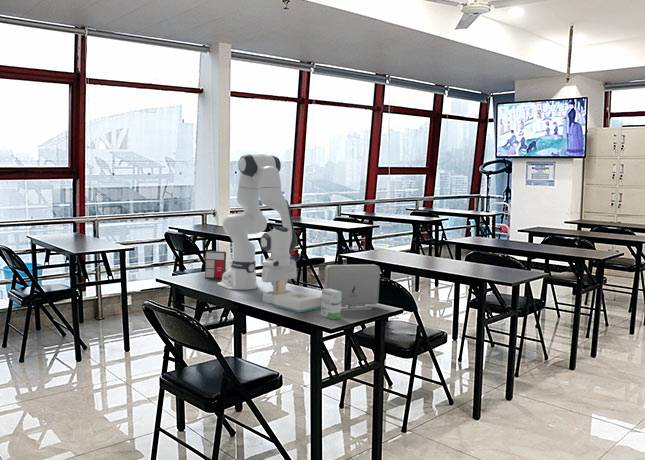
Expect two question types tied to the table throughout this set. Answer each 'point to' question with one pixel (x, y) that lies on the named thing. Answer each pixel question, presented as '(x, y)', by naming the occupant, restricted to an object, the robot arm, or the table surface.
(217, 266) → the red and grey box
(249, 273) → the robot arm
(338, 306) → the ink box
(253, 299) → the table surface
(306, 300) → the block
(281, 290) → the plug
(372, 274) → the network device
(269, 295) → the holster
